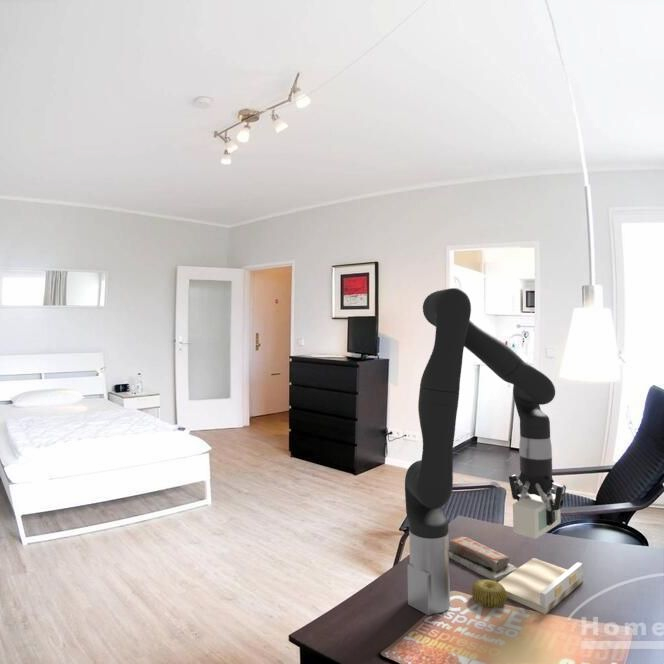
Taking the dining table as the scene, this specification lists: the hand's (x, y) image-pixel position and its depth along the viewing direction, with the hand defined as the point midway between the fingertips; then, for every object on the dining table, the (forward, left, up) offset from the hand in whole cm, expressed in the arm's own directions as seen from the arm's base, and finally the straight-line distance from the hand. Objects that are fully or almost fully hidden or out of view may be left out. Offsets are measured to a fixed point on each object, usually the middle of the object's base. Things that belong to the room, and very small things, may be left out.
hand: (537, 520), depth 118 cm
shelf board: (0, 0, -16) cm, 16 cm away
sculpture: (-15, +5, -17) cm, 23 cm away
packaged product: (0, +17, -17) cm, 24 cm away
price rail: (0, -6, -15) cm, 16 cm away
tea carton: (0, 0, -2) cm, 2 cm away
